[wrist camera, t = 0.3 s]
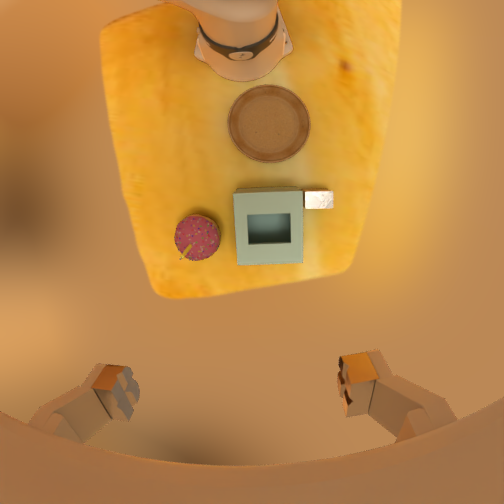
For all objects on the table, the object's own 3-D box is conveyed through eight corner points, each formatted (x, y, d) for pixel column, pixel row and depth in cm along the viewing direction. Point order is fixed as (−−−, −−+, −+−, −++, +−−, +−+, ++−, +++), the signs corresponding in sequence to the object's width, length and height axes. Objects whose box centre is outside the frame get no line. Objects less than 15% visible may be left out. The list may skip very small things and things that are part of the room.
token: (301, 188, 53) (305, 191, 48) (326, 188, 52) (333, 191, 48) (301, 204, 54) (305, 208, 49) (326, 203, 53) (333, 208, 49)
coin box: (237, 188, 53) (232, 193, 45) (295, 186, 52) (302, 191, 44) (240, 249, 57) (237, 265, 48) (296, 247, 56) (303, 262, 48)
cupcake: (206, 260, 58) (193, 285, 46) (173, 235, 56) (152, 254, 45) (231, 227, 55) (224, 245, 44) (197, 201, 54) (180, 212, 42)
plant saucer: (321, 112, 48) (325, 110, 46) (283, 176, 52) (285, 177, 50) (253, 75, 46) (253, 71, 44) (215, 139, 50) (212, 138, 48)
